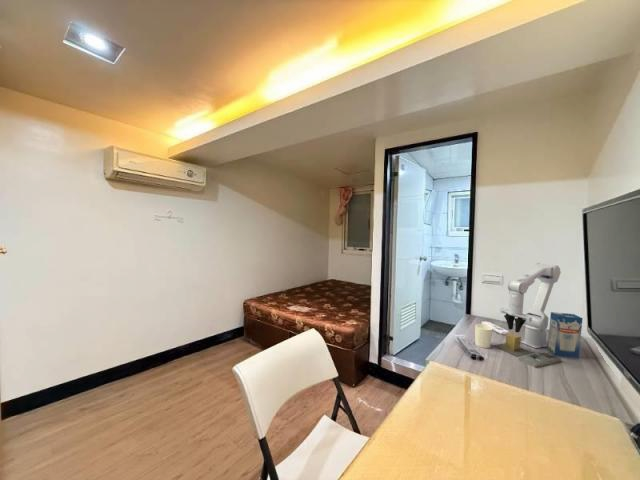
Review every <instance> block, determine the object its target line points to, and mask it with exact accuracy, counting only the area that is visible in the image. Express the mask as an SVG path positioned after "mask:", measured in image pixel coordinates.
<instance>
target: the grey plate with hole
mask: <svg viewBox="0 0 640 480" xmlns="http://www.w3.org/2000/svg"><path fill="white" fill-rule="evenodd" d="M518 360H519V361H520V362H523V363H525V364H527V365H529V366H531V367H533V368H539V367H542V366H547V365H551V364H556V363H560V362H561V360H562V358H561V356H555V355H553V354H552V353H551V352H549V351H548V352H547V351H545V350H542V351H538V352H533V353H532V354H527V355H522V356H518Z"/></svg>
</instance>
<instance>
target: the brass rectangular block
mask: <svg viewBox="0 0 640 480" xmlns="http://www.w3.org/2000/svg"><path fill="white" fill-rule="evenodd" d="M521 341H522V336H520V335H517V334H515V333H507V334H505V343H506V344H505V348H507V349H510V350H512V351H519V350H520V347H521V343H522V342H521Z"/></svg>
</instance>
